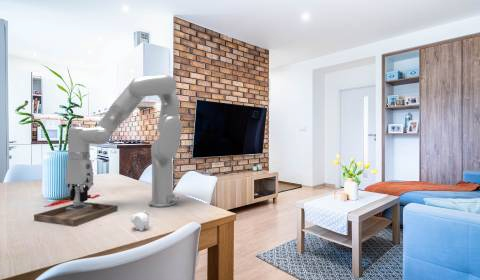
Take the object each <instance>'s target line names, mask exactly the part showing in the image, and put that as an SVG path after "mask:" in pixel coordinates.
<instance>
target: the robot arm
mask: <svg viewBox="0 0 480 280" xmlns="http://www.w3.org/2000/svg"><path fill="white" fill-rule="evenodd" d="M176 89H177V82H176V80H175V78H173V76H170V75H168V74H162V75H149V76H148V75H147V76H139V77H135V78H133V79H132V80H131V82H130V83H129V84H128V85H127V86H126V87H125V88H124V90H123V91H122V93H120V94H119V96H118V97H117V98H116V99H115V101H113V102H112V104H111V105H110V107H109V108H108V110H107V112H105V114H104V115H103V117H102V118H101V119H100V120H99V121H98V123H97V124H96V125H95V126H93V127H87V126H69V128H68V130H67V133H68V134H67V135H68V136H67V141H68V142H67V150H68V152H67V161H66V162H67V163H66V167H65V168H66V171H65V181H64V184H65V185H66V186H67V187H68V191H69V195H70V198H69V200H70V202H73V201H74V199H75V191H76V190H75V186H77V185H78V186H79V185H80V188H81V192H80V202H83V201H84V202H88V200H89V197H88V195H89V193H88V192H89V191H90V189H91V187H93V186H94V171H93V170H94V169H93V163H92V159H90V158H91V153H90V152H91V151H90V149H91V148H90V146H91V145H90V144H92V145H101V146H102V145H104V144H107V143H108V142H109V141H110V139H111V137H112V134H114V132H115V131H116V130H117V129H118V128H119V126H120V125H122V123H123V122H125V121H126V120H128V118H129V117H130V116H131V115H132V114H133V112H134V111H135V110H136V109H137V108H138V106H139V105H140V104H141V103H142V101H143V100H144V99H145V98H146V97H152V96H153V97H154V96H157V97H159V100H160V102H161V103H160V104H161V105H160V111H159V116H158V121H157V123H156V128H157V131H158V133H159V136H158V138H157V139H155V140H154V141H153V142H152V145H150V146H151V147H150V155H151V200H149V201H148V205H149V206H150V207H153V208H164V207H171V206H174V205H176V203H178V202H179V201H180V196H176V195H175V193H174V191H173V189H174V185H173V181H174V180H173V178H174V174H173V173H174V171H173V170H174V169H173V168H174V166H173V163H174V162H173V158H174V157H175V156H176V155H177V153H178V151H179V148H180V142H181V138H182V132H183V122H182V121H181V118H179V112H180V111H179V110H180V100H179V97H178V94H177V93H176Z"/></svg>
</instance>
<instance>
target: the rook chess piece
mask: <svg viewBox="0 0 480 280" xmlns="http://www.w3.org/2000/svg"><path fill="white" fill-rule="evenodd" d="M75 190H76V191H75V199H74V201H72V204H73V205H74V206H81V205H84V204H85V202H86V201H83V202H80V192H81V188H80V185H77V186H75Z"/></svg>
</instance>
